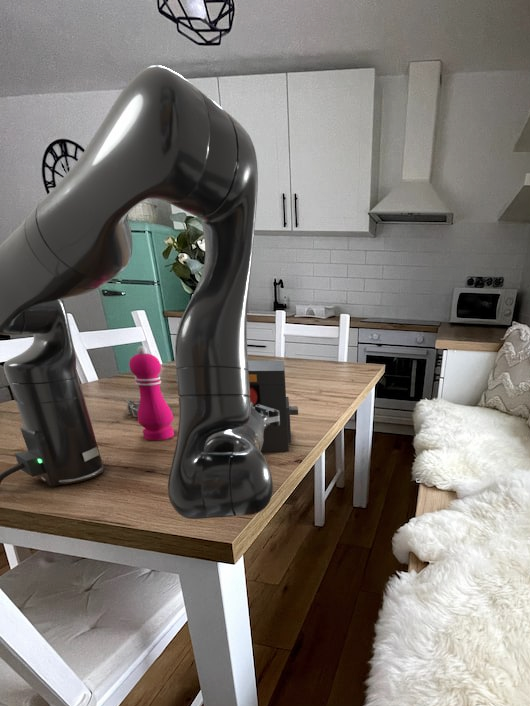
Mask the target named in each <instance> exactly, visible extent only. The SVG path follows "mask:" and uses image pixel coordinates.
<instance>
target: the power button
mask: <svg viewBox="0 0 530 706" xmlns="http://www.w3.org/2000/svg"><path fill="white" fill-rule="evenodd" d="M249 397H250V402H252V403H253V405H254V404H255V403H256V401H257V392H256V390H255V389H254V388H252V387H250V396H249Z"/></svg>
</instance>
